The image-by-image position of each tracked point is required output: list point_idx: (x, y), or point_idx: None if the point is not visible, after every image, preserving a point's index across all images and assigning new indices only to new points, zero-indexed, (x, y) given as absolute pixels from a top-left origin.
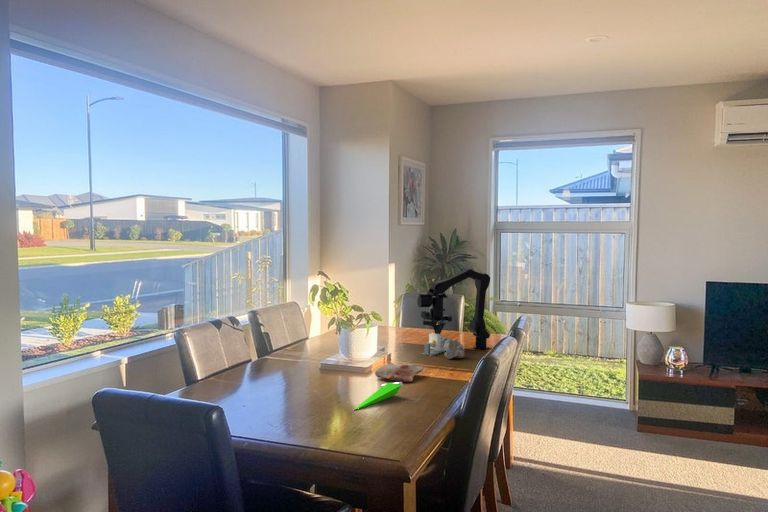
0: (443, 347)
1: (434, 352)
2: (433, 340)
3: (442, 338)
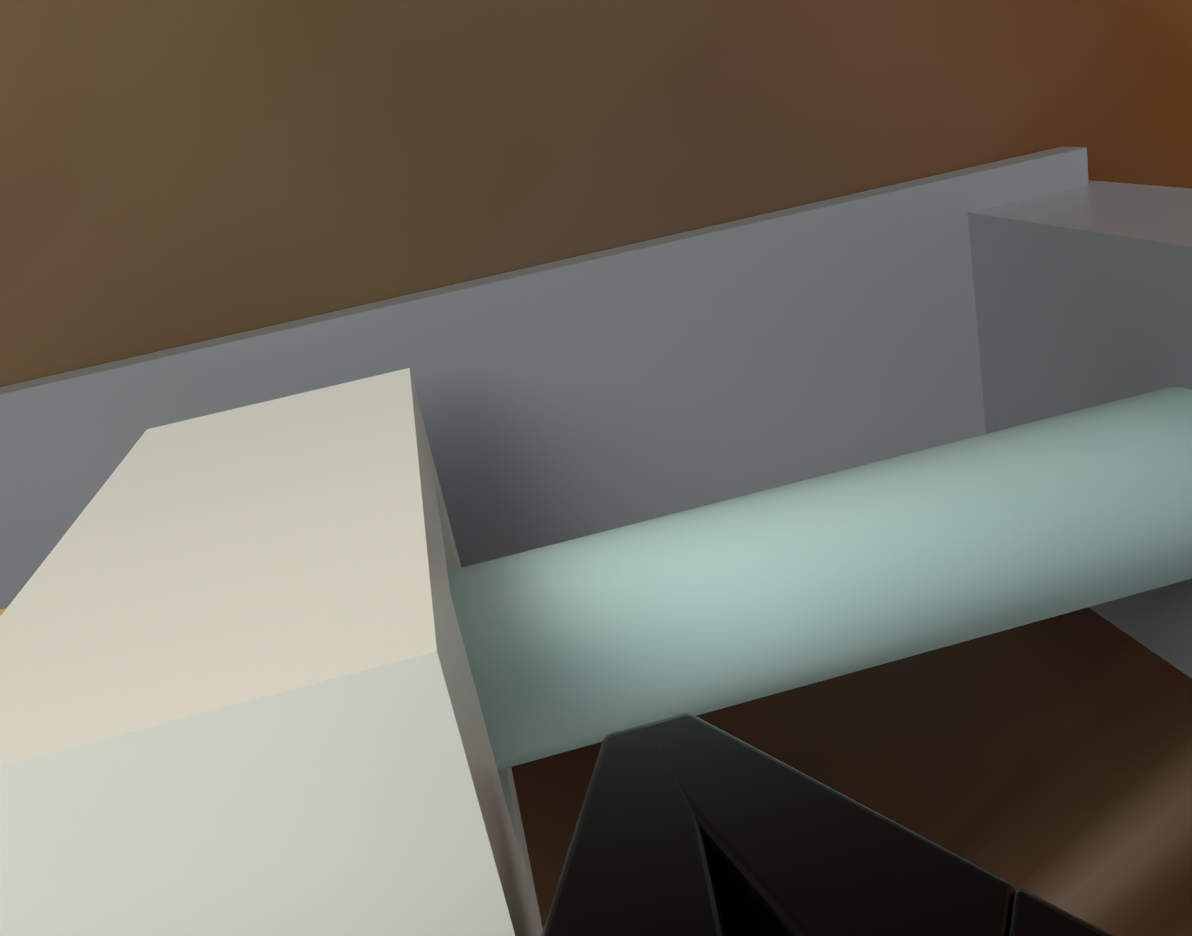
0: (993, 358)
1: None
2: None
3: (1122, 519)
